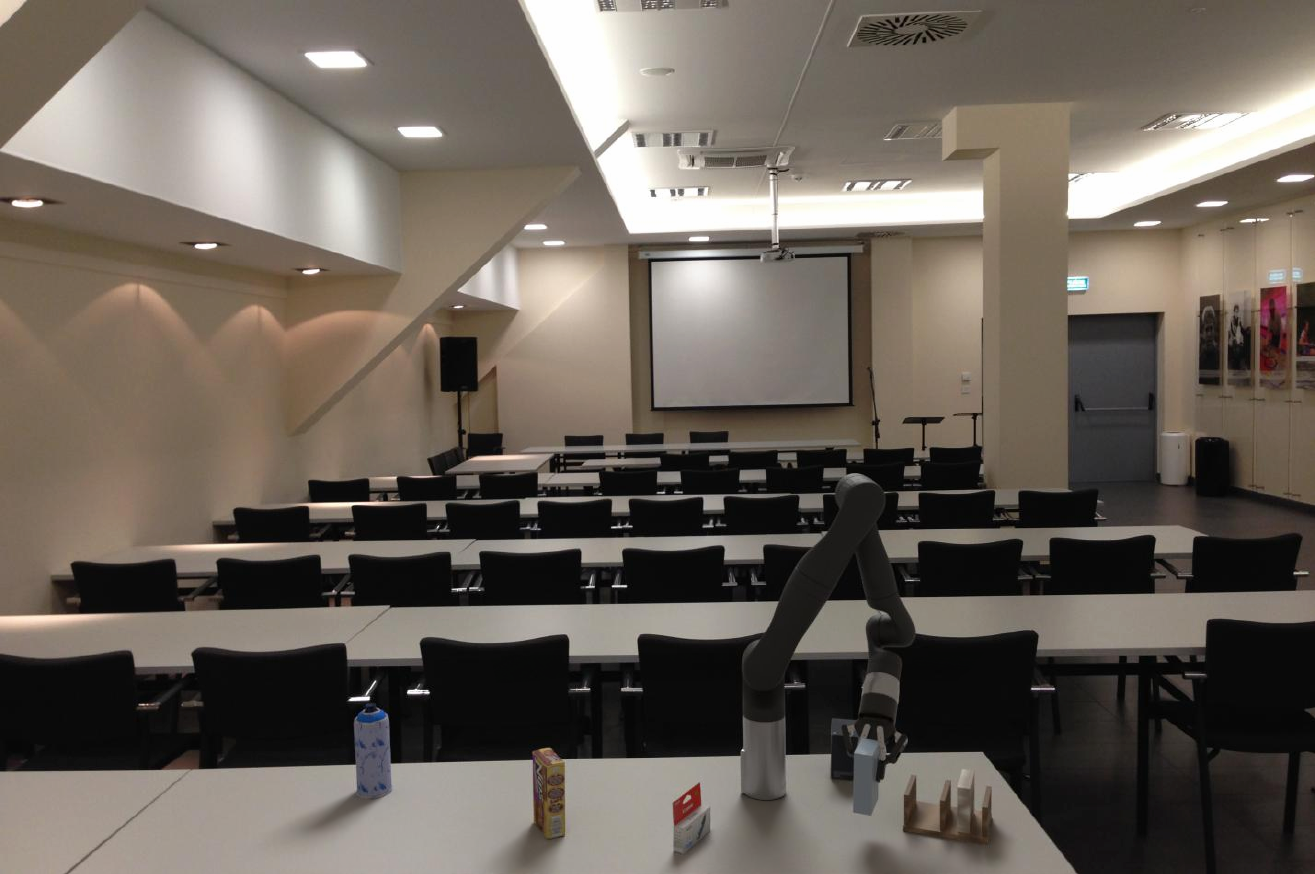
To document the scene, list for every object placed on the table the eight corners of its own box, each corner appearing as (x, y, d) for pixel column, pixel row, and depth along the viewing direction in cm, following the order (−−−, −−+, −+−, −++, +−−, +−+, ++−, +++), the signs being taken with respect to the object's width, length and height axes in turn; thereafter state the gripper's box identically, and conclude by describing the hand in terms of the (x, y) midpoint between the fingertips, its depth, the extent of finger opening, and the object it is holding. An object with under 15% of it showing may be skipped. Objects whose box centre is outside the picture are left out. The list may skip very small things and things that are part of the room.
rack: (902, 830, 191) (902, 782, 191) (912, 804, 202) (912, 759, 201) (986, 844, 185) (987, 795, 184) (991, 817, 196) (992, 770, 195)
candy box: (567, 835, 192) (565, 762, 191) (547, 840, 190) (545, 766, 189) (552, 817, 200) (550, 746, 199) (533, 822, 198) (530, 750, 197)
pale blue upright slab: (852, 812, 186) (854, 753, 185) (860, 795, 193) (862, 738, 192) (871, 816, 185) (872, 756, 184) (878, 798, 192) (879, 740, 191)
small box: (859, 781, 214) (859, 736, 213) (830, 779, 215) (829, 734, 215) (859, 762, 225) (859, 719, 224) (831, 760, 226) (830, 717, 225)
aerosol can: (400, 788, 216) (396, 702, 214) (372, 801, 209) (368, 713, 208) (376, 780, 220) (372, 696, 219) (348, 794, 213) (344, 706, 212)
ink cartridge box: (711, 830, 193) (710, 784, 192) (683, 855, 184) (682, 806, 183) (700, 827, 194) (699, 781, 194) (672, 851, 185) (671, 803, 184)
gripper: (843, 686, 200) (829, 765, 190) (912, 696, 194) (901, 777, 184) (848, 702, 205) (834, 780, 195) (915, 712, 199) (905, 793, 189)
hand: (867, 778), depth 189 cm, fingers closed on pale blue upright slab, 3 cm apart
